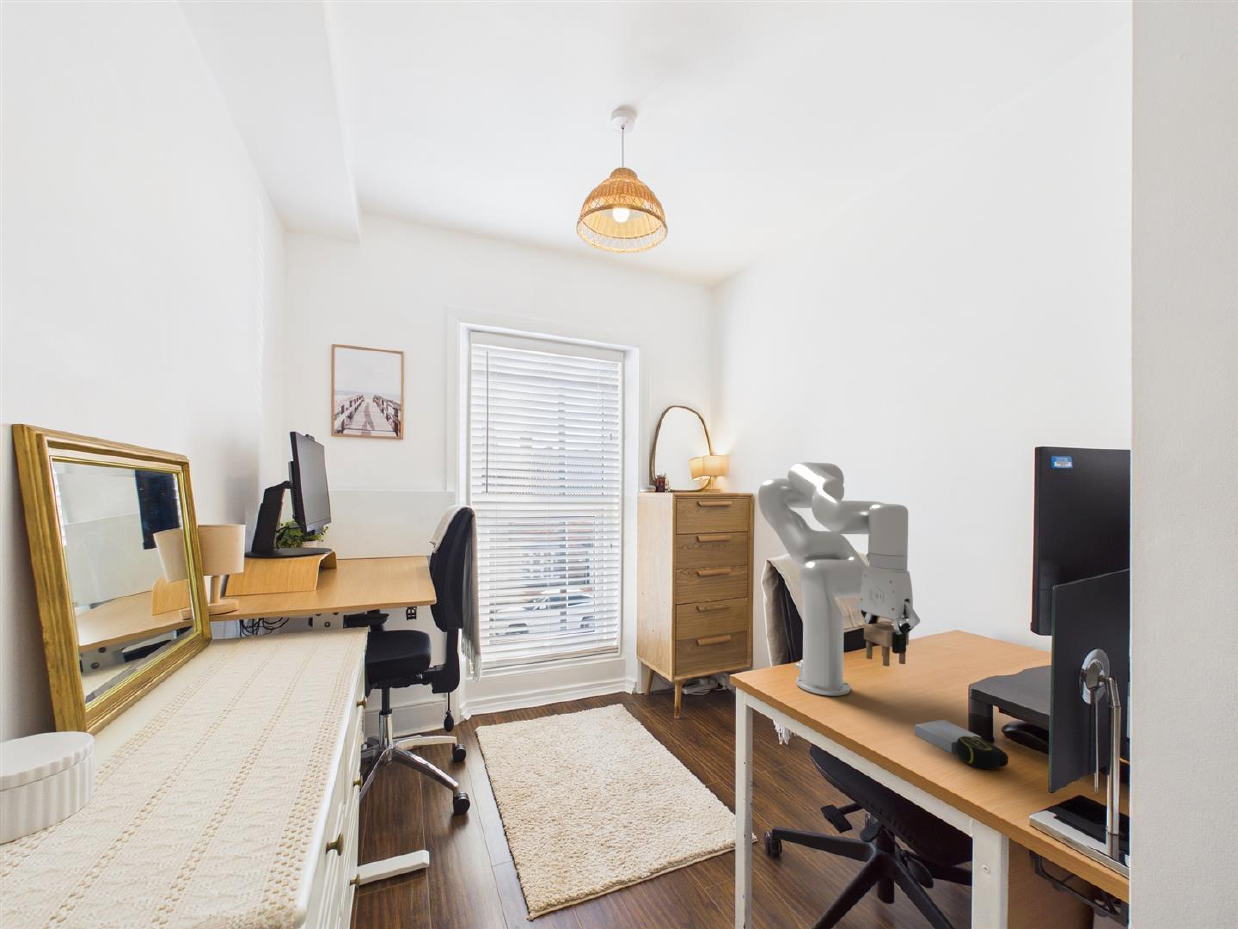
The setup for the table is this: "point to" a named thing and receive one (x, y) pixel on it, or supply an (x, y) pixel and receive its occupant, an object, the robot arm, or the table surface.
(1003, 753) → the tape measure
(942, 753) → the table surface
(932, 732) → the plinth
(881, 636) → the stool
